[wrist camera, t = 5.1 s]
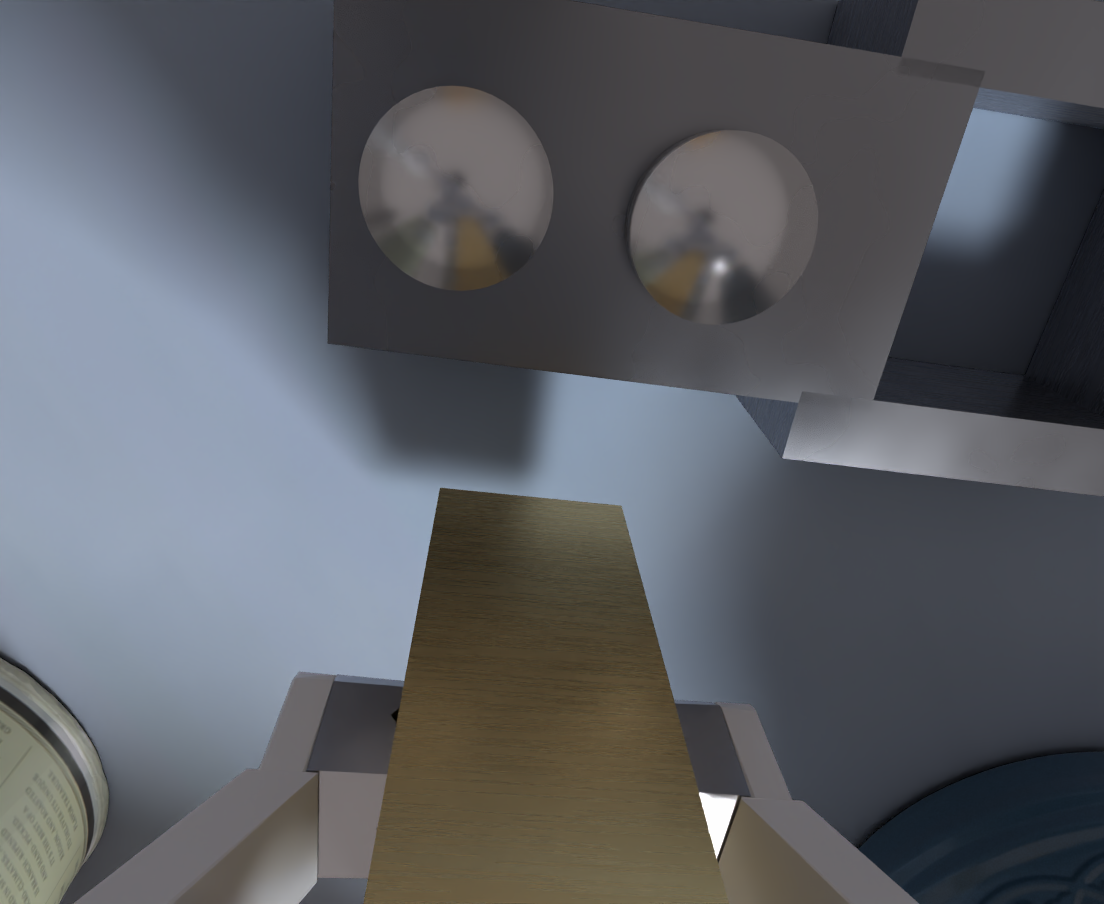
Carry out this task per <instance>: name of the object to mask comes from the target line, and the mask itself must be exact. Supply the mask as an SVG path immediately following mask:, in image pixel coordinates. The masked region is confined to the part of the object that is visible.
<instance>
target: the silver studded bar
mask: <svg viewBox="0 0 1104 904" xmlns="http://www.w3.org/2000/svg"><path fill="white" fill-rule="evenodd" d="M973 108H978V109H984V110H990V111H996V112H1002V113H1008V114H1014V115H1020V116H1027V117H1033V118H1039V119H1045V120H1051V121H1057V122H1063V123H1069V124H1075V125H1081V126H1087V127H1093V128H1099V129H1104V2H1101V1H1095V0H842V1H839V2H838V4H837V8H836V12H835V16H834V20H833V23H832V27H831V31H830V35H829V39H828V43H827V44H823V43H817V42H812V41H806V40H800V39H794V38H788V37H782V36H776V35H771V34H765V33H759V32H753V31H747V30H741V29H735V28H730V27H724V26H718V25H712V24H706V23H700V22H694V21H689V20H683V19H677V18H671V17H665V16H659V15H653V14H647V13H642V12H636V11H630V10H624V9H618V8H612V7H606V6H601V5H595V4H589V3H583V2H577V1H571V0H334V27H333V81H332V135H331V189H330V243H329V297H328V344H336V345H344V346H351V347H359V348H367V349H375V350H383V351H391V352H399V353H407V354H415V355H423V356H431V357H439V358H447V359H455V360H463V361H471V362H479V363H487V364H495V365H503V366H510V367H518V368H526V369H534V370H542V371H550V372H558V373H566V374H574V375H582V376H590V377H598V378H606V379H614V380H622V381H630V382H638V383H646V384H654V385H662V386H669V387H677V388H685V389H693V390H701V391H709V392H717V393H725V394H733V395H736V397H737V398H738V400H739V401H740V402H741V404H742V405H743V406H744V408H745V409H746V410H747V412H748V413H749V414H750V416H751V417H752V418H753V420H754V421H755V422H756V424H757V425H758V427H759V428H760V429H761V431H762V432H763V433H764V435H765V436H766V437H767V439H768V440H769V441H770V443H771V444H772V445H773V447H774V448H775V449H776V451H777V452H778V453H779V455H780V456H781V457H782V458H784V459H792V460H801V461H809V462H817V463H826V464H834V465H843V466H851V467H860V468H868V469H876V470H885V471H893V472H902V473H910V474H919V475H927V476H935V477H944V478H952V479H961V480H969V481H978V482H986V483H994V484H1003V485H1011V486H1020V487H1028V488H1036V489H1045V490H1053V491H1062V492H1070V493H1079V494H1087V495H1095V496H1104V190H1103V193H1102V195H1101V197H1100V200H1099V202H1098V204H1097V207H1096V209H1095V212H1094V214H1093V216H1092V219H1091V221H1090V223H1089V226H1088V228H1087V230H1086V233H1085V235H1084V237H1083V240H1082V242H1081V245H1080V247H1079V249H1078V252H1077V254H1076V256H1075V259H1074V261H1073V263H1072V266H1071V268H1070V270H1069V273H1068V275H1067V278H1066V280H1065V282H1064V285H1063V287H1062V289H1061V292H1060V294H1059V296H1058V299H1057V301H1056V303H1055V306H1054V308H1053V311H1052V313H1051V315H1050V318H1049V320H1048V322H1047V325H1046V327H1045V329H1044V332H1043V334H1042V336H1041V339H1040V341H1039V344H1038V346H1037V348H1036V351H1035V353H1034V355H1033V358H1032V360H1031V362H1030V365H1029V367H1028V370H1027V372H1026V374H1025V376H1022V375H1015V374H1007V373H1000V372H992V371H985V370H977V369H970V368H962V367H955V366H947V365H940V364H932V363H924V362H917V361H909V360H902V359H894V358H888V355H889V352H890V349H891V346H892V343H893V340H894V338H895V335H896V332H897V329H898V326H899V323H900V320H901V317H902V314H903V311H904V308H905V305H906V302H907V299H908V296H909V294H910V291H911V288H912V285H913V282H914V279H915V276H916V273H917V270H918V267H919V264H920V261H921V258H922V255H923V252H924V250H925V247H926V244H927V241H928V238H929V235H930V232H931V229H932V226H933V223H934V220H935V217H936V214H937V211H938V208H939V205H940V203H941V200H942V197H943V194H944V191H945V188H946V185H947V182H948V179H949V176H950V173H951V170H952V167H953V164H954V161H955V159H956V156H957V153H958V150H959V147H960V144H961V141H962V138H963V135H964V132H965V129H966V126H967V123H968V120H969V117H970V115H971V112H972V109H973Z"/></svg>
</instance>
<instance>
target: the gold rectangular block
mask: <svg viewBox="0 0 1104 904" xmlns="http://www.w3.org/2000/svg"><path fill="white" fill-rule="evenodd" d="M363 904H729V901H728V898H727V894H726V890H725V887H724V883H723V879H722V876H721V872H720V868H719V865H718V861H717V857H716V853H715V850H714V846H713V842H712V839H711V835H710V831H709V828H708V824H707V820H706V817H705V813H704V809H703V805H702V802H701V798H700V794H699V791H698V787H697V783H696V780H695V776H694V772H693V769H692V765H691V761H690V757H689V754H688V750H687V746H686V743H685V739H684V735H683V732H682V728H681V724H680V720H679V717H678V713H677V709H676V706H675V702H674V698H673V695H672V691H671V687H670V684H669V680H668V676H667V672H666V669H665V665H664V661H663V658H662V654H661V650H660V647H659V643H658V639H657V636H656V632H655V628H654V624H653V621H652V617H651V613H650V610H649V606H648V602H647V599H646V595H645V591H644V588H643V584H642V580H641V576H640V573H639V569H638V565H637V562H636V558H635V554H634V551H633V547H632V543H631V540H630V536H629V532H628V528H627V525H626V521H625V517H624V514H623V510H622V506H618V505H608V504H598V503H588V502H578V501H568V500H558V499H548V498H538V497H528V496H518V495H507V494H497V493H487V492H477V491H467V490H457V489H447V488H440V491H439V496H438V502H437V507H436V513H435V518H434V524H433V529H432V534H431V540H430V545H429V551H428V556H427V561H426V567H425V572H424V578H423V583H422V589H421V594H420V599H419V605H418V610H417V616H416V621H415V627H414V632H413V637H412V643H411V648H410V654H409V659H408V665H407V670H406V675H405V681H404V686H403V692H402V697H401V703H400V708H399V713H398V719H397V724H396V730H395V735H394V740H393V746H392V751H391V757H390V762H389V768H388V773H387V778H386V784H385V789H384V795H383V800H382V806H381V811H380V816H379V822H378V827H377V833H376V838H375V844H374V849H373V854H372V860H371V865H370V871H369V876H368V881H367V887H366V892H365V898H364V903H363Z"/></svg>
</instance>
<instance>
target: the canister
mask: <svg viewBox="0 0 1104 904" xmlns="http://www.w3.org/2000/svg"><path fill="white" fill-rule="evenodd" d="M858 850H859V851H860V852H861V853H863V854H864V855H865V856H866V857H867V858H868V859H869V860H870V861H872V862H873V863H874V864H875V865H876V866H877V867H878V868H879V869H881V870H882V871H883V872H884V873H885V874H886V875H887V876H888V877H890V878H891V879H892V880H893V881H894V882H895V883H896V884H898V885H899V886H900V887H901V888H902V889H903V890H904V891H905V892H907V893H908V894H909V895H910V896H911V897H912V898H913V899H914V900H916V901H917V902H918V903H919V904H1104V752H1078V753H1065V754H1057V755H1049V756H1044V757H1038V758H1032V759H1028V760H1023V761H1018V762H1014V763H1010V764H1006V765H1003V766H999V767H996V768H993V769H990V770H987V771H984V772H981V773H978V774H975V775H973V776H970V777H968V778H965V779H963V780H960V781H958V782H956V783H953V784H951V785H949V786H947V787H944V788H942V789H940V790H938V791H937V792H935V793H933V794H931V795H929V796H927V797H925V798H923V799H922V800H920V801H918V802H917V803H915V804H913V805H912V806H910V807H909V808H907V809H906V810H904V811H903V812H901V813H900V814H898V815H897V816H896V817H894V818H893V819H892V820H890V821H889V822H887V823H886V824H885V825H884V826H882V827H881V828H880V829H879V830H878V831H876V832H875V833H874V834H873V835H872V836H871V837H870V838H869V839H868V840H867V841H866V842H865V843H864V844H863V845H862V846H861V847H860V848H859V849H858Z"/></svg>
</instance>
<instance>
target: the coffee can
mask: <svg viewBox="0 0 1104 904" xmlns="http://www.w3.org/2000/svg"><path fill="white" fill-rule="evenodd" d="M108 803H109V790H108V784H107V780H106V778H105V775H104V773H103V770H102V765H101V761H100V759H99V756H98V754H97V752H96V750H95V748H94V746H93V744H92V742H91V741H90V739H89V738H88V736H87V734H86V733H85V732H84V730H83V729H82V728H81V726H80V725H79V723H78V722H77V721H76V720H75V718H74V717H73V716H72V715H71V714H70V713H69V712H68V711H67V710H66V709H65V708H64V707H63V705H62V704H61V703H60V702H59V701H58V700H57V699H56V698H55V697H54V696H53V695H52V694H50V693H49V692H48V691H47V690H45V689H44V688H43V687H42V686H41V685H39V684H38V683H37V682H36V681H35V680H34V679H33V678H32V677H30V676H29V675H28V674H27V673H25V672H24V671H22V670H20V669H19V668H17V667H15V666H13V665H11V664H9V663H8V662H6V661H5V660H3V659H1V658H0V904H59V903H60V901H61V900H62V898H63V896H64V894H65V893H66V891H67V889H68V887H69V886H70V884H71V882H72V881H73V880H74V878H75V877H76V875H77V873H78V872H79V870H80V868H81V866H82V865H83V864H84V863H85V862H86V861H87V859H88V858H89V857H90V855H91V854H92V852H93V851H94V849H95V847H96V846H97V844H98V842H99V840H100V838H101V836H102V833H103V830H104V827H105V824H106V819H107V813H108Z"/></svg>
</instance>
